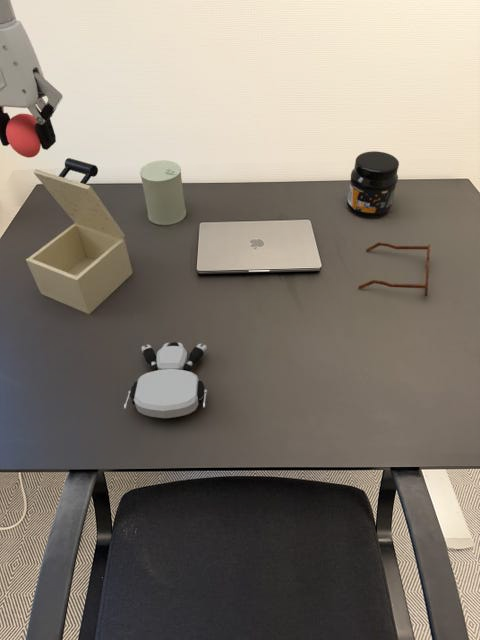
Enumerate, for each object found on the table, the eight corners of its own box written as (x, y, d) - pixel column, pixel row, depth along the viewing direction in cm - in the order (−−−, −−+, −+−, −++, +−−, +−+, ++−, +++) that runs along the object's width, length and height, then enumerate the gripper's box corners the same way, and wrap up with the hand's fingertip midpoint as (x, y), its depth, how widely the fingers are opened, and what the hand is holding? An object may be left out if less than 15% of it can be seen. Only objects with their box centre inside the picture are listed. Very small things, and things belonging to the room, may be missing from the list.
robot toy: (142, 355, 83) (127, 426, 72) (137, 337, 80) (121, 408, 69) (210, 354, 83) (206, 425, 72) (209, 336, 80) (204, 406, 69)
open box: (89, 314, 90) (76, 280, 83) (41, 294, 94) (25, 259, 88) (132, 273, 98) (124, 239, 92) (86, 256, 102) (75, 222, 96)
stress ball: (3, 167, 73) (-1, 139, 68) (12, 123, 77) (9, 93, 71) (39, 174, 75) (38, 147, 69) (46, 131, 78) (46, 102, 73)
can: (175, 228, 109) (168, 182, 100) (140, 220, 111) (131, 174, 102) (192, 208, 114) (187, 162, 106) (159, 200, 117) (152, 155, 108)
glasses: (426, 301, 90) (433, 282, 87) (357, 289, 93) (362, 269, 90) (428, 260, 99) (434, 241, 95) (365, 249, 102) (369, 230, 98)
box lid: (87, 189, 78) (106, 162, 80) (33, 172, 83) (52, 147, 84) (123, 238, 91) (138, 215, 93) (73, 221, 95) (89, 199, 97)
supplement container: (337, 209, 113) (344, 162, 104) (360, 191, 118) (368, 145, 110) (376, 225, 108) (387, 177, 99) (398, 205, 113) (410, 159, 105)
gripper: (-95, 17, 60) (-33, 150, 73) (27, 22, 57) (69, 160, 70) (-57, 2, 65) (-6, 129, 78) (56, 6, 62) (90, 137, 75)
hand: (29, 142), depth 74 cm, fingers closed on stress ball, 6 cm apart
